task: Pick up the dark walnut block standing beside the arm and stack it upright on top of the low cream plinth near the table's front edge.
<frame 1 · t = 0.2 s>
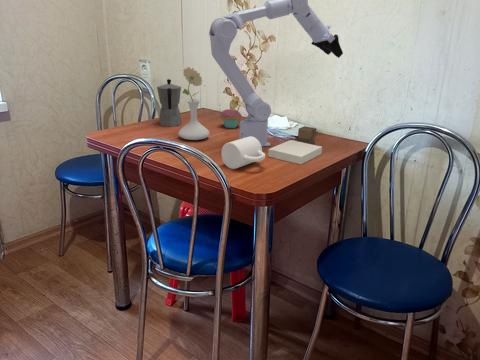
hand: (335, 54, 146), 31 cm above the table, tool tilted 45°, fingers open, 7 cm apart
mug: (246, 167, 128), on the table
cream plinth: (295, 155, 139), on the table
walnut block: (306, 144, 150), on the table
coffeepot: (170, 125, 172), on the table
flower in vase: (193, 138, 155), on the table
cupcake: (230, 127, 171), on the table
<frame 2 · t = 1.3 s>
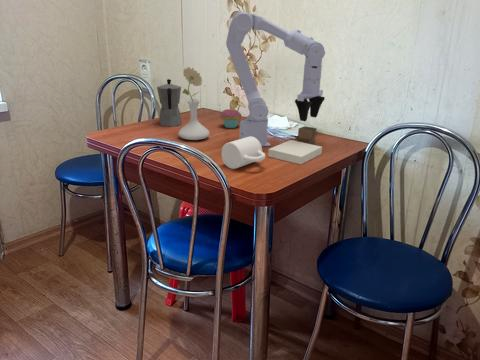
hand: (308, 118, 147), 9 cm above the table, tool pointing down, fingers open, 7 cm apart
nothing on the table moved.
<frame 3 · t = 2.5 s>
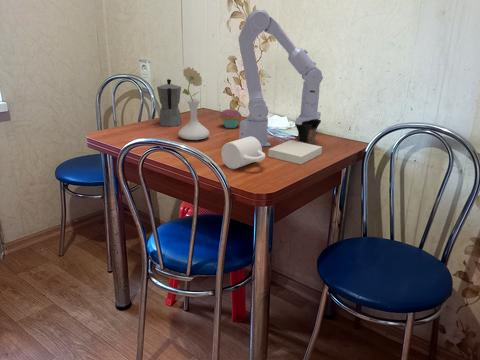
hand: (306, 140, 150), 1 cm above the table, tool pointing down, fingers closed on walnut block, 5 cm apart
walnut block: (306, 144, 150), on the table, touching gripper
everything else where it was.
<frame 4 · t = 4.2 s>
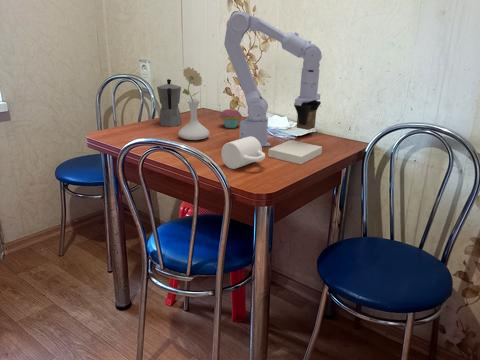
hand: (305, 123, 145), 8 cm above the table, tool pointing down, fingers closed on walnut block, 5 cm apart
walnut block: (305, 127, 145), point 7 cm above the table, touching gripper
everything else where it was.
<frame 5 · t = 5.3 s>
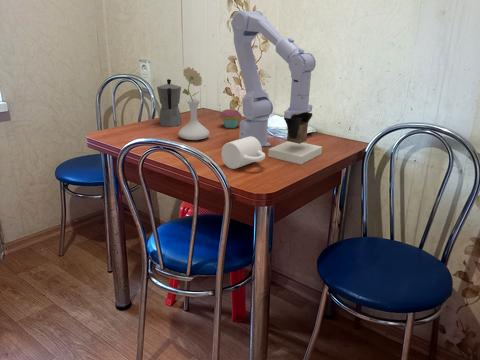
hand: (296, 136, 136), 6 cm above the table, tool pointing down, fingers closed on walnut block, 5 cm apart
walnut block: (296, 140, 137), point 5 cm above the table, touching gripper
everything else where it was.
when the fingers open (5 cm above the table, at t = 6.0 s): walnut block drops 1 cm, resting on cream plinth.
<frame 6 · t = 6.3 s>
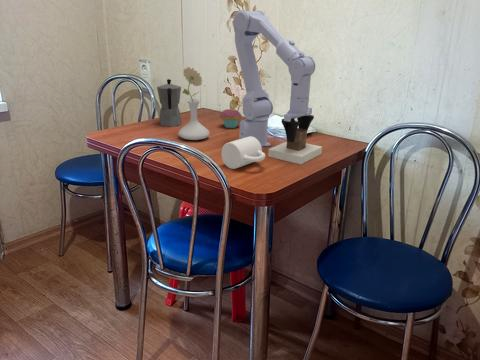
hand: (296, 139, 137), 5 cm above the table, tool pointing down, fingers open, 7 cm apart
walnut block: (296, 147, 138), point 2 cm above the table, touching cream plinth
everything else where it was.
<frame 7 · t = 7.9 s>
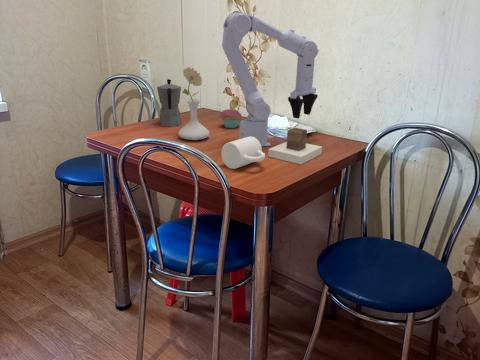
hand: (301, 116, 150), 9 cm above the table, tool pointing down, fingers open, 7 cm apart
nothing on the table moved.
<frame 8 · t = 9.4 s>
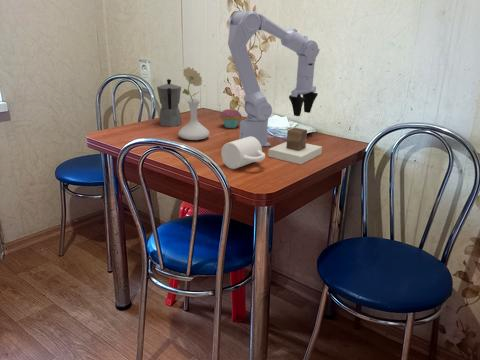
hand: (302, 114, 153), 9 cm above the table, tool pointing down, fingers open, 7 cm apart
nothing on the table moved.
at the end: walnut block inside the target area on the cream plinth (0.1 cm from its centre), point 2.5 cm above the cream plinth's base; walnut block tilted 0°; the gripper is holding nothing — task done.
